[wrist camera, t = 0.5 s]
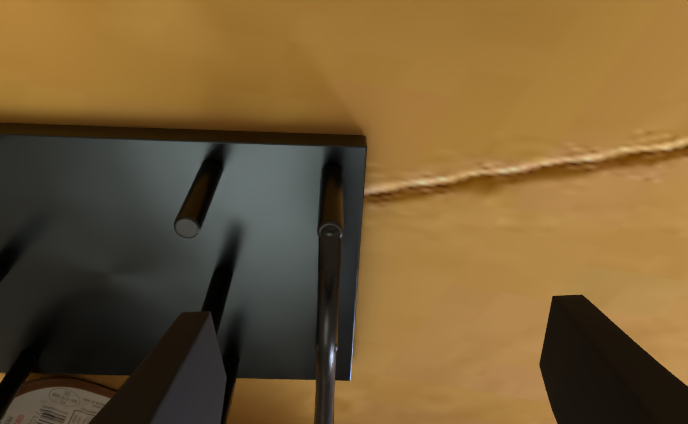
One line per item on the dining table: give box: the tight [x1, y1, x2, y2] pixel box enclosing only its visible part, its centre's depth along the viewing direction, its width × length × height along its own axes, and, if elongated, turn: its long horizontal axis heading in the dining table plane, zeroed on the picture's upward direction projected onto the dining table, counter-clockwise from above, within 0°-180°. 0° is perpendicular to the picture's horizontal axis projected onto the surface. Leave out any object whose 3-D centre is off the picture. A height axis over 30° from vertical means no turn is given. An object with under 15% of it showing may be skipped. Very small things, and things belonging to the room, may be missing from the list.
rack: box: [0, 123, 367, 424], centre depth 21 cm, size 12×20×5 cm, turn 88°
